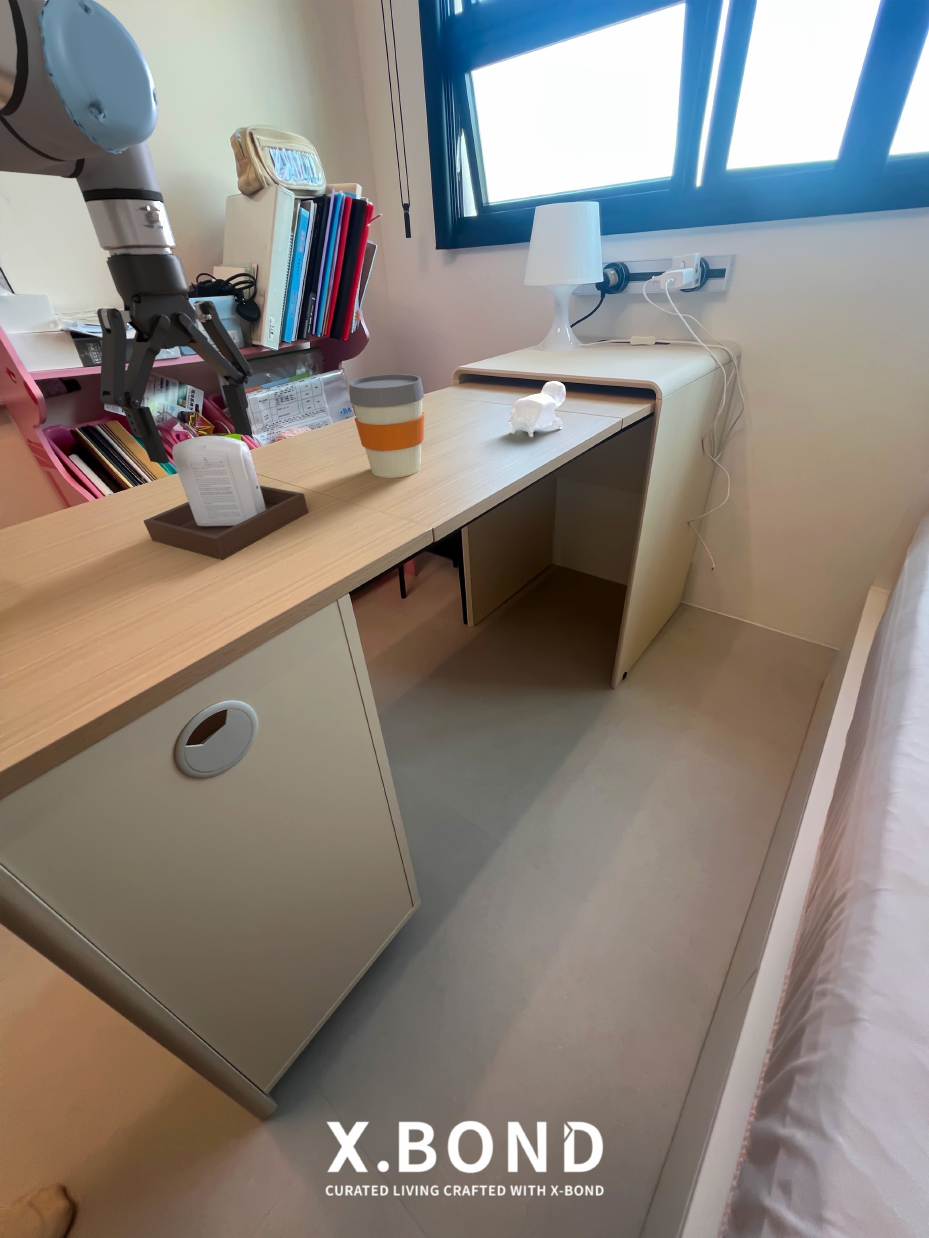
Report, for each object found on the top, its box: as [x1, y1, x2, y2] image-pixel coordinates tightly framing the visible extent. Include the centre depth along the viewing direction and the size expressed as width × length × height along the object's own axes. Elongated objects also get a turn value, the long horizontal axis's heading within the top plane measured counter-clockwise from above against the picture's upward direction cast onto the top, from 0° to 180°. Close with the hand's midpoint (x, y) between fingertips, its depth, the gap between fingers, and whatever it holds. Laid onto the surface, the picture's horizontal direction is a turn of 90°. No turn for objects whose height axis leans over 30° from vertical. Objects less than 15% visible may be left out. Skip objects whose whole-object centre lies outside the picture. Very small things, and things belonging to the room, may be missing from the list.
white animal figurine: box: [507, 380, 567, 438], centre depth 109 cm, size 9×8×15 cm
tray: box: [143, 485, 309, 561], centre depth 74 cm, size 17×15×3 cm
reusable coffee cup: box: [348, 373, 425, 479], centre depth 89 cm, size 12×13×15 cm
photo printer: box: [171, 435, 266, 526], centre depth 71 cm, size 10×4×12 cm, turn 90°
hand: (205, 447), depth 68 cm, fingers open, 13 cm apart
